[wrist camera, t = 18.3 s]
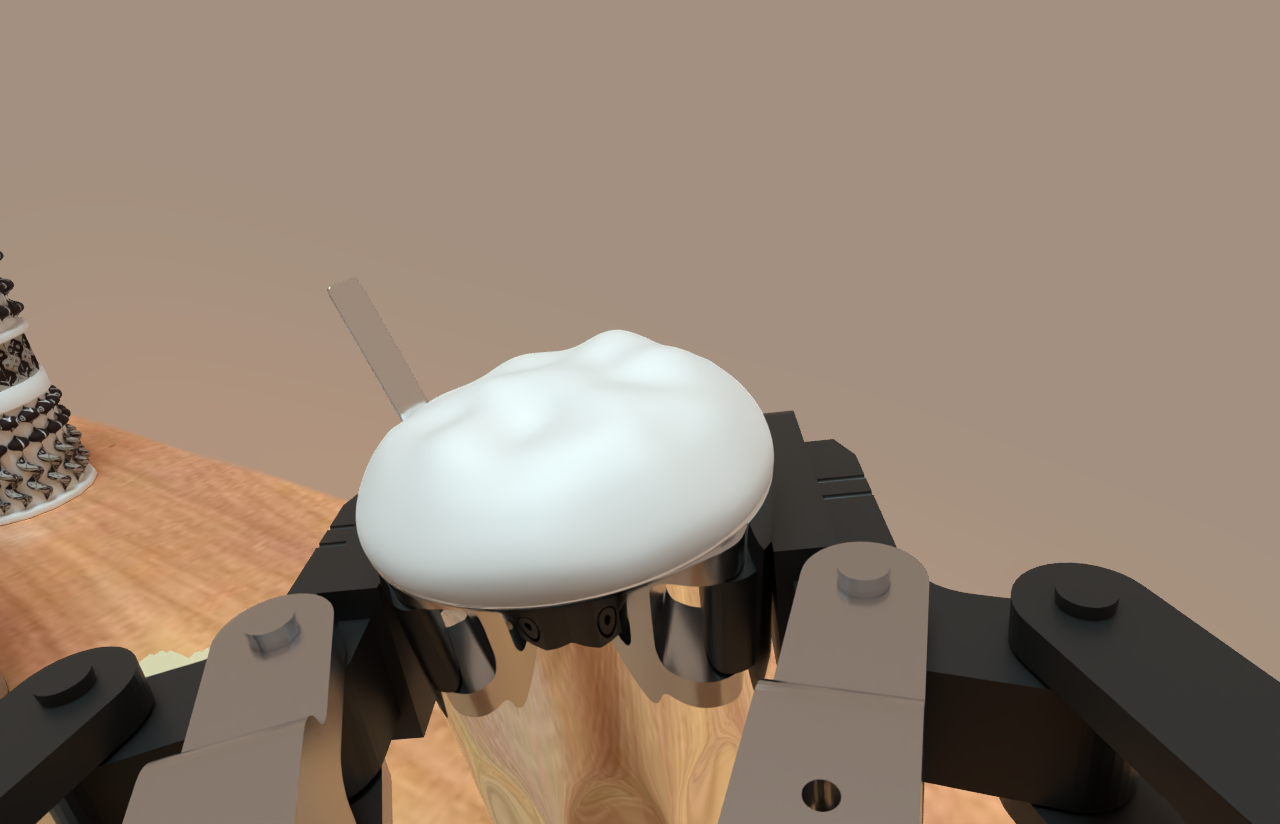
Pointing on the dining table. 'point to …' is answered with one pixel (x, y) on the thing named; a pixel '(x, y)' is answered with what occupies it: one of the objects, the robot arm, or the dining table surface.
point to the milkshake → (578, 569)
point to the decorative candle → (33, 428)
